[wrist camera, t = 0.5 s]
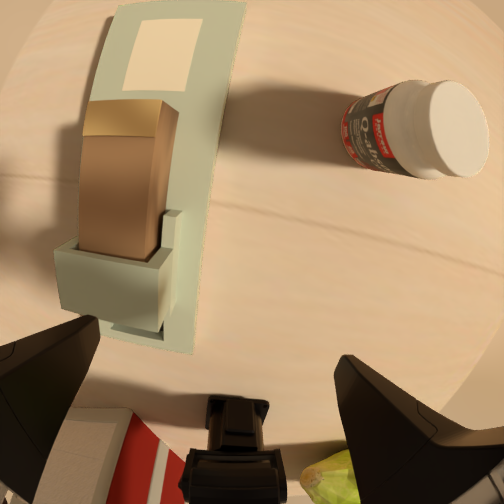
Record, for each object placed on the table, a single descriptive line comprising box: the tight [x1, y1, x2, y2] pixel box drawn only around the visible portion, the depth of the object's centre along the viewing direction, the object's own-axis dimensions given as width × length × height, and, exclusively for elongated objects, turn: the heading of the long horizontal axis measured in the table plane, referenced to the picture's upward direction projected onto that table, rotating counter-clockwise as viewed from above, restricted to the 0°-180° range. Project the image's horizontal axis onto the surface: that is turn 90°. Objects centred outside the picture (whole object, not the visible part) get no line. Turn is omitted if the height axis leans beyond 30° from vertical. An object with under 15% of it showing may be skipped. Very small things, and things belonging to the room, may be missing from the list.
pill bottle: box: [341, 80, 489, 180], centre depth 13 cm, size 6×6×10 cm
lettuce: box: [300, 449, 361, 504], centre depth 27 cm, size 13×23×12 cm, turn 50°
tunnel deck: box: [54, 0, 247, 355], centre depth 15 cm, size 28×10×7 cm, turn 170°
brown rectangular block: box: [78, 99, 179, 263], centre depth 15 cm, size 12×4×4 cm, turn 170°
